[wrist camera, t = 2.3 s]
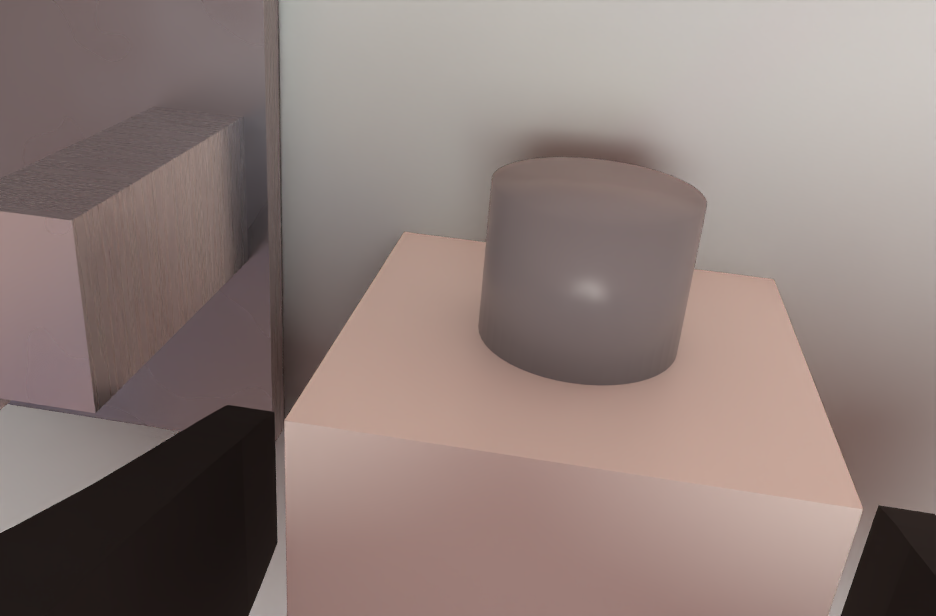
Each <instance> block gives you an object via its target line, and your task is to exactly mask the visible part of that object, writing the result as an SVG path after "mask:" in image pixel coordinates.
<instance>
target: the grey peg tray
mask: <svg viewBox="0 0 936 616" xmlns="http://www.w3.org/2000/svg"><path fill="white" fill-rule="evenodd" d="M7 404H11V405H17V406H24V407H30V408H37V409H43V410H49V411H56V412H62V413H69V414H75V415H81V416H88V417H94V418H101V419H107V420H113V421H120V422H126V423H133V424H139V425H145V426H152V427H158V428H165V429H171V430H177V431H183V430H184V429H186V428H188V427H189V426H191V425H193V424H194V423H196V422H198V421H199V420H201V419H203V418H204V417H206V416H208V415H210V414H211V413H213V412H215V411H217V410H219V409H220V408H222V407H224V406H226V405H233V406H239V407H246V408H252V409H259V410H265V411H272V412H274V414H275V442H276V440H277V438H278V437H279V435H280V434H281V432H282V430H283V429H284V383H283V318H282V252H281V187H280V121H279V56H278V0H0V410H1V409H2V408H3V407H4V406H5V405H7Z"/></svg>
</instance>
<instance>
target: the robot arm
mask: <svg viewBox="0 0 936 616" xmlns="http://www.w3.org/2000/svg"><path fill="white" fill-rule="evenodd" d="M276 545H277V506H276V460H275V414H274V412H272V411H265V410H259V409H252V408H246V407H239V406H233V405H226V406H224V407H222V408H220V409H219V410H217V411H215V412H213V413H211V414H210V415H208V416H206V417H204V418H203V419H201V420H199V421H198V422H196V423H194V424H193V425H191V426H189V427H188V428H186V429H184V430H183V431H181V432H179V433H178V434H176V435H174V436H173V437H171V438H170V439H168V440H166V441H165V442H163V443H161V444H160V445H158V446H156V447H155V448H153V449H152V450H150V451H148V452H146V453H145V454H143V455H141V456H140V457H138V458H136V459H135V460H133V461H131V462H130V463H128V464H126V465H125V466H123V467H121V468H119V469H118V470H116V471H114V472H113V473H111V474H109V475H108V476H106V477H104V478H103V479H101V480H99V481H97V482H96V483H94V484H92V485H90V486H89V487H87V488H85V489H83V490H81V491H79V492H77V493H76V494H74V495H72V496H70V497H68V498H66V499H64V500H62V501H61V502H59V503H57V504H55V505H53V506H51V507H49V508H48V509H46V510H44V511H42V512H40V513H38V514H36V515H35V516H33V517H31V518H29V519H27V520H25V521H23V522H21V523H20V524H18V525H16V526H14V527H12V528H10V529H8V530H6V531H4V532H2V533H0V616H248V615H249V613H250V611H251V608H252V606H253V603H254V601H255V598H256V596H257V594H258V591H259V589H260V586H261V584H262V581H263V579H264V576H265V573H266V571H267V568H268V566H269V563H270V560H271V558H272V555H273V553H274V550H275V547H276ZM841 616H936V515H935V514H931V513H924V512H918V511H911V510H905V509H898V508H892V507H885V506H878V509H877V512H876V515H875V518H874V520H873V523H872V526H871V529H870V532H869V535H868V538H867V541H866V544H865V547H864V550H863V553H862V555H861V558H860V561H859V564H858V567H857V570H856V573H855V576H854V579H853V582H852V585H851V587H850V590H849V593H848V596H847V599H846V602H845V605H844V608H843V611H842V614H841Z"/></svg>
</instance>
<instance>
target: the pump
mask: <svg viewBox="0 0 936 616" xmlns="http://www.w3.org/2000/svg"><path fill="white" fill-rule="evenodd" d="M706 207H707V201H706V199H705V197H704V196H703V194H702V193H701V192H700V191H699V190H697V189H696V188H695V187H693V186H692V185H690V184H688V183H686V182H684V181H682V180H680V179H678V178H676V177H673V176H671V175H668V174H665V173H662V172H659V171H656V170H653V169H649V168H645V167H641V166H637V165H632V164H628V163H622V162H616V161H610V160H602V159H593V158H580V157H545V158H534V159H527V160H521V161H517V162H513V163H510V164H507V165H505V166H503V167H501V168H499V169H498V170H497V171H495V173H494V174H493V176H492V182H491V193H490V204H489V215H488V226H487V236H486V242H480V241H472V240H465V239H457V238H449V237H441V236H433V235H426V234H418V233H410V232H404V233H403V234H402V236H401V238H400V239H399V241H398V242H397V244H396V245H395V247H394V249H393V250H392V252H391V253H390V255H389V256H388V258H387V260H386V261H385V263H384V264H383V266H382V268H381V269H380V271H379V272H378V274H377V275H376V277H375V279H374V280H373V282H372V283H371V285H370V286H369V288H368V290H367V291H366V293H365V294H364V296H363V297H362V299H361V301H360V302H359V304H358V305H357V307H356V308H355V310H354V312H353V313H352V315H351V316H350V318H349V319H348V321H347V323H346V324H345V326H344V327H343V329H342V331H341V332H340V334H339V335H338V337H337V338H336V340H335V342H334V343H333V345H332V346H331V348H330V349H329V351H328V353H327V354H326V356H325V357H324V359H323V360H322V362H321V364H320V365H319V367H318V368H317V370H316V371H315V373H314V375H313V376H312V378H311V379H310V381H309V382H308V384H307V386H306V387H305V389H304V390H303V392H302V393H301V395H300V397H299V398H298V400H297V401H296V403H295V405H294V406H293V408H292V409H291V411H290V412H289V414H288V416H287V417H286V419H285V420H284V432H285V499H286V567H287V616H828V614H829V611H830V608H831V605H832V602H833V599H834V596H835V593H836V590H837V587H838V584H839V581H840V578H841V575H842V572H843V569H844V566H845V563H846V560H847V557H848V554H849V551H850V548H851V545H852V542H853V539H854V536H855V533H856V530H857V527H858V524H859V521H860V518H861V515H862V512H863V507H862V505H861V502H860V499H859V497H858V494H857V492H856V489H855V487H854V484H853V481H852V479H851V476H850V474H849V471H848V469H847V466H846V463H845V461H844V458H843V456H842V453H841V451H840V448H839V445H838V443H837V440H836V438H835V435H834V433H833V430H832V427H831V425H830V422H829V420H828V417H827V415H826V412H825V409H824V407H823V404H822V402H821V399H820V397H819V394H818V391H817V389H816V386H815V384H814V381H813V379H812V376H811V373H810V371H809V368H808V366H807V363H806V361H805V358H804V355H803V353H802V350H801V348H800V345H799V343H798V340H797V337H796V335H795V332H794V330H793V327H792V325H791V322H790V319H789V317H788V314H787V312H786V309H785V307H784V304H783V301H782V299H781V296H780V294H779V291H778V289H777V286H776V283H775V281H774V279H769V278H761V277H753V276H745V275H738V274H730V273H722V272H714V271H706V270H699V269H694V267H695V262H696V257H697V252H698V247H699V242H700V237H701V232H702V227H703V222H704V217H705V212H706Z"/></svg>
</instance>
